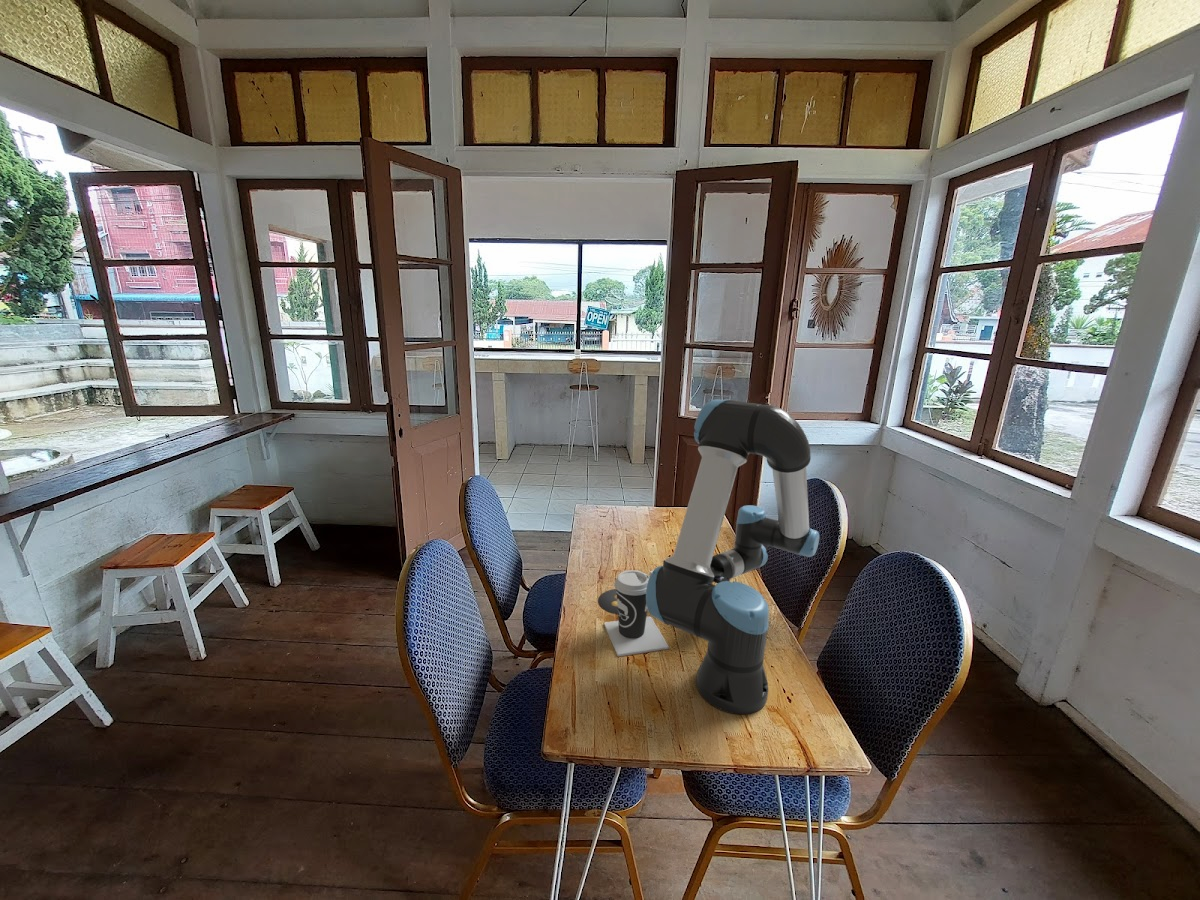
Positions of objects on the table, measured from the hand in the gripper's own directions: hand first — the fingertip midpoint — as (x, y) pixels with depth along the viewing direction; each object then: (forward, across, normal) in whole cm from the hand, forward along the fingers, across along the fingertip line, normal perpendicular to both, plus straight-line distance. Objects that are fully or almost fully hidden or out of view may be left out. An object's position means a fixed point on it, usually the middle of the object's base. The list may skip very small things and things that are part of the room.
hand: (666, 588), depth 129 cm
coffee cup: (+10, +2, -10) cm, 14 cm away
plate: (+10, 0, -11) cm, 15 cm away
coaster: (+3, +15, -10) cm, 18 cm away
